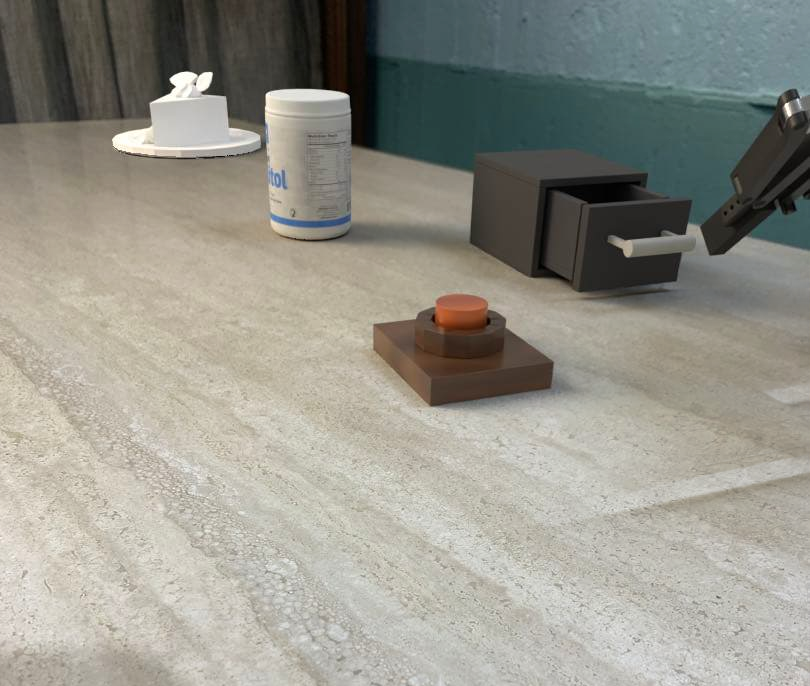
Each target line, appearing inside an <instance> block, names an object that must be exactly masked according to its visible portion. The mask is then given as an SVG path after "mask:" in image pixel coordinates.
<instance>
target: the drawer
mask: <svg viewBox="0 0 810 686" xmlns="http://www.w3.org/2000/svg"><path fill="white" fill-rule="evenodd" d="M692 204H693V199H691V198H689V197H685V196H683V197H670V196H668V195H665V194H662V193H660V192H657V191H655V190H652V189H649V188H647V187H646V188H643V187H640V186H637V185H634V184H632V183H629V182H622V183H607V184H592V185H577V186H562V187H547V188H546V196H545V205H544V215H543V224H542V234H541V243H540V253H539V262H538V263H540V264H541V265H543V266H545V267H547V268H549V269H550V270H552V271H554V272H556V273H558V274H560V275H559V276H561V277H563V278H565V279H567V280H569V281H571V282H572V285H571V289H572V290H573V291H574V292H577V294H578V293H579V294H580V293H587V292H588V293H589V292H596V291H607V290H615V289H622V288H623V289H624V288H630V287H641V286H648V285H649V286H650V285H657V284H667V283H676V282H678V276H679V272H680V267H681V260H682V257H683V256H682V255H683V253H687V252H688V253H689V252H692V251H694V250H695V248H696V246H697V238H696V236H695V235H694V234H691V233H689V234H687V230H688V226H689V219H690V215H691V210H692Z"/></svg>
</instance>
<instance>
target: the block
mask: <svg viewBox="0 0 810 686" xmlns="http://www.w3.org/2000/svg"><path fill="white" fill-rule="evenodd" d="M435 307H436V306H431V307H428V308H427V309H424V310H422V311H419V312H418V313H417V315H416V317H415V318H414V319H413V318H412V319H404V320H396V321H388V322H387V321H386V322H378V323H373V324H372V347H373V348H372V349H373V350H374V352H375V353H376V354H377V355H378V356H379V357H380V358H381V359H383V361H384V362H385V363H386V364H387V365H388V366H389V367H390V368H391V369H392V370H393V371H394V372H395V373H396V374H397V375H398V376H399V377H400V378H401V379H402V380H403V381H404V382H405V383H406V384H407V385H408V386H409V387H410V389H412V390H413V391H414V392H415V393H416V394H417V395H418V396H419V397H420V398H421V400H423V401H424V402H425V403H426V404H427V405H428V406H429V407H430V408H431V407H437V406H445V405H451V404H458V403H465V402H470V401H471V402H472V401H478V400H484V399H490V398H496V397H502V396H509V395H516V394H523V393H531V392H536V391H542V390H543V391H544V390H548V389H549V390H550V389H552V381H553V375H554V374H553V373H554V367H555V361H554V360H552V359H551V358H550V357H548V356H547V355H545V354H544V353H543V352H541V351H540V350H538V349H537V348H536V347H534V346H533V345H532V344H530V343H529V342H527V341H526V340H524V338H521V337H520V336H518V335H517V334H516V333H514V332H513V331H512V330H510V329H509V328H507V327H506V326H507V318H506V317H504V316H503V315H502V314H500V313H499V312H497V311H495V310H492V309H488V314H487V326H485V327H483V328H480V329H472V330H455V329H448V328H444V327H441V326H437V325H436V324H435Z"/></svg>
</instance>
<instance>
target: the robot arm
mask: <svg viewBox="0 0 810 686" xmlns="http://www.w3.org/2000/svg"><path fill="white" fill-rule="evenodd" d="M729 178H730V180H731V183H732V187H733V189H734V192H735V193H734V194H733V195H732V196H731V197H730V198H728V200H727V201H725V203H723V204H722V205H721V206H720V207H719V208H718V209H717V210H716V211H715V212H714V213H713V214H712V215H711V216H710V217H708V219H706V220H705V221H704V222H703V223H702V224H701V225H700V226H699V229H700V232H701V234H702V238H703V240H704V244H705V247H706V250H707V252H708V255H709V257H713V256H722V255H725V254H726V253H728V252H729V251H730V250H732V248H733V247H734V246H736V245H738V243H739V242H740V241H742V240H743V239H744V238H745V237H746V236H747V235H749V234H750V233H751V232H752V231H753V230H755V229H756V228H757V227H758V226H759V225H760V224H762V223H764V221H765V220H767V219H768V218H769V217H770V216H771V215H772V214H774V213H775V212H776V211H777V210H778V209H779V208H780V210H781V214H782V215H783V216H789V215H792V214H794V213H796V212H797V211H798V208H797V206H796V203H795V202H796V200H798V199H799V198H800V197H801V196H802V198H803V200H804V201H810V94H807V95H805V96H803V95H800V94H799V91H798V89H797V88H790V89H788V90H785V91H784V92H782V93H781V94H779V96H778V98H777V102H776V106H775V110H774V113H773V114H772V116H771V117H770V118H769V120H768V121H767V122H766V124H765V125H764V127H763V129H762V130H761V131H760V132H759V134H758V135H757V137H756V138H755V139H754V141H753V142H752V143H751V145H749V148H748V149H747V150H746V152H744V155H743V156H742V157H741V159H740V160H739V161H738V163H737V164H736V165H735V167H734V168H733V169H732V171H731V172H730V174H729Z"/></svg>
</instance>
